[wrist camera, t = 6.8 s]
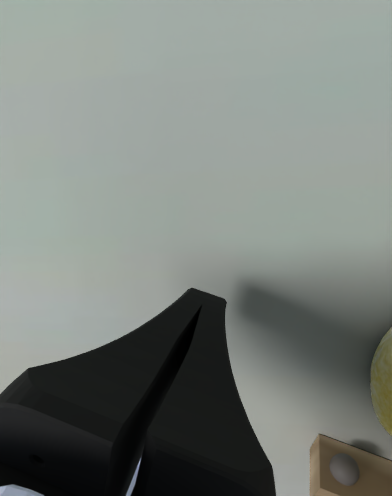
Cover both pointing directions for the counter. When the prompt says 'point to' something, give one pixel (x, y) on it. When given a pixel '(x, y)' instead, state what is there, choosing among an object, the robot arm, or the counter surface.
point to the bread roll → (383, 382)
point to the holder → (347, 470)
